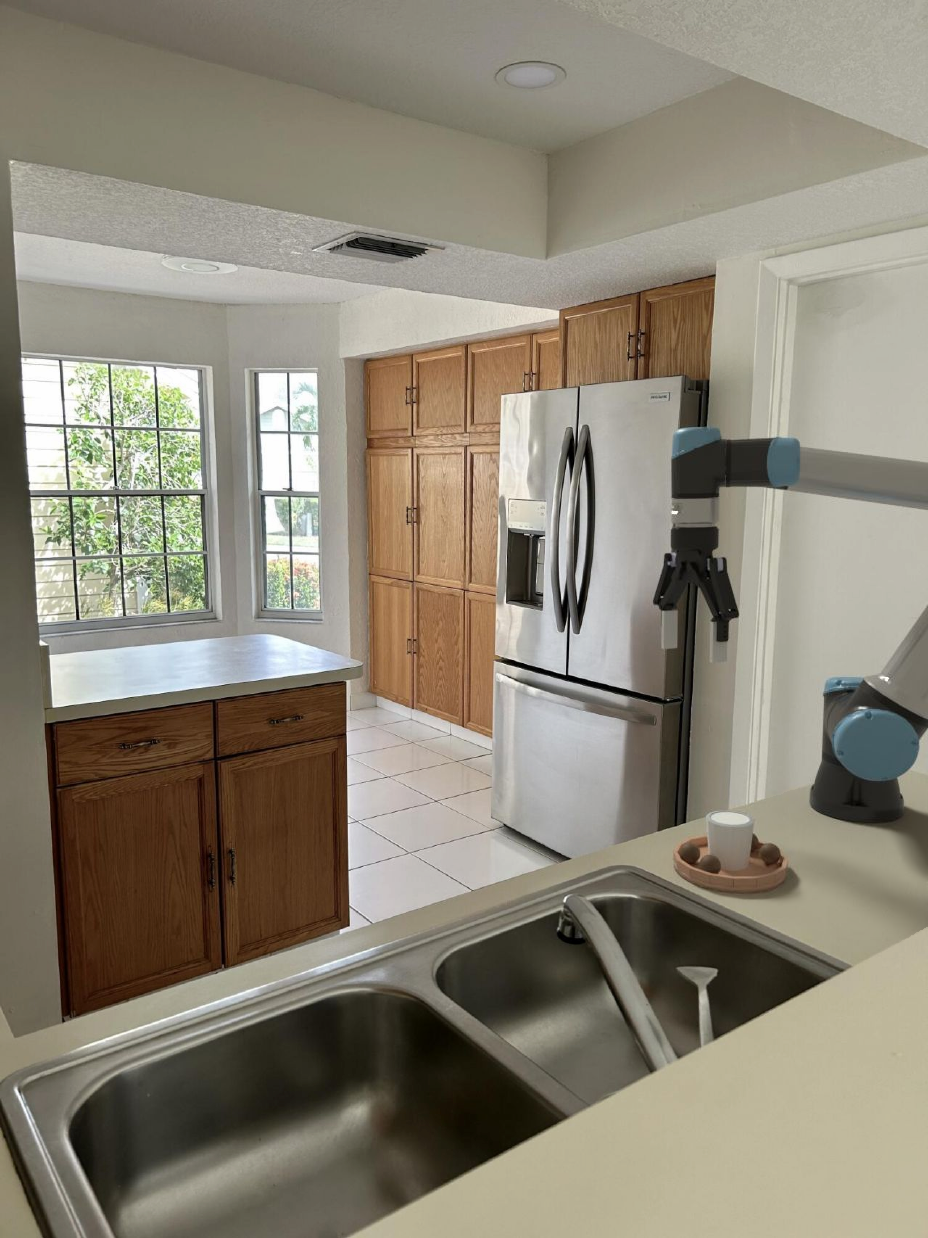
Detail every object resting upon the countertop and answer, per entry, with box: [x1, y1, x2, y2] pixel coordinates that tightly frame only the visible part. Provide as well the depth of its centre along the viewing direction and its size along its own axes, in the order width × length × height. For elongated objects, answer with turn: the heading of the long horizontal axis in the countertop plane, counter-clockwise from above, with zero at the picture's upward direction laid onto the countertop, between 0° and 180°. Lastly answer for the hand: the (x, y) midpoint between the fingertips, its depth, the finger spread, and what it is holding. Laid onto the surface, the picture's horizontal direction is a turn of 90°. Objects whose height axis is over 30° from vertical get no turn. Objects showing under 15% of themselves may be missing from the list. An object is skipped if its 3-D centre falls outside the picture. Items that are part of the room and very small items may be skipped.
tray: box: [672, 834, 789, 894], centre depth 135 cm, size 16×16×2 cm
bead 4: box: [759, 842, 781, 864], centre depth 134 cm, size 3×3×3 cm
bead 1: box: [680, 843, 700, 864], centre depth 135 cm, size 3×3×3 cm
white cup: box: [705, 809, 755, 871], centre depth 134 cm, size 7×7×7 cm
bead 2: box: [699, 855, 721, 874], centre depth 130 cm, size 3×3×3 cm
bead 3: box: [750, 832, 760, 852], centre depth 139 cm, size 3×3×3 cm
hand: (692, 654), depth 150 cm, fingers open, 13 cm apart
